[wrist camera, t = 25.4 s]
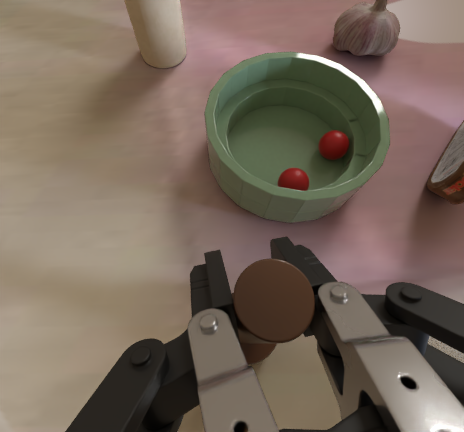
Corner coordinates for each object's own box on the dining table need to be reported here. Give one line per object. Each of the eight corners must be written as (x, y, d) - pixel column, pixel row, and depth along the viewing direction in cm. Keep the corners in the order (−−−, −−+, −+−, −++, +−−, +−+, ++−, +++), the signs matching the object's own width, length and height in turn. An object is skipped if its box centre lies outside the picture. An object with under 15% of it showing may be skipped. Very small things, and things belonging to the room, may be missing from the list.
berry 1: (300, 186, 26) (310, 163, 24) (306, 206, 24) (317, 182, 22) (272, 184, 26) (280, 159, 24) (276, 203, 24) (284, 178, 22)
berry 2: (341, 145, 27) (360, 138, 25) (328, 167, 27) (346, 163, 24) (321, 129, 27) (339, 120, 24) (308, 151, 26) (324, 145, 24)
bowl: (307, 80, 31) (323, 34, 26) (389, 186, 26) (429, 154, 21) (185, 124, 28) (177, 81, 23) (252, 251, 23) (260, 232, 18)
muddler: (254, 281, 22) (293, 196, 9) (290, 339, 20) (399, 331, 7) (201, 313, 21) (160, 266, 8) (233, 378, 19) (246, 448, 6)
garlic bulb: (319, 51, 33) (346, -27, 26) (344, 21, 36) (376, -58, 28) (373, 77, 32) (419, 4, 24) (396, 44, 34) (444, -32, 27)
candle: (192, 42, 33) (180, -66, 24) (178, 73, 31) (159, -32, 22) (151, 33, 33) (123, -77, 24) (134, 63, 31) (97, -44, 22)
